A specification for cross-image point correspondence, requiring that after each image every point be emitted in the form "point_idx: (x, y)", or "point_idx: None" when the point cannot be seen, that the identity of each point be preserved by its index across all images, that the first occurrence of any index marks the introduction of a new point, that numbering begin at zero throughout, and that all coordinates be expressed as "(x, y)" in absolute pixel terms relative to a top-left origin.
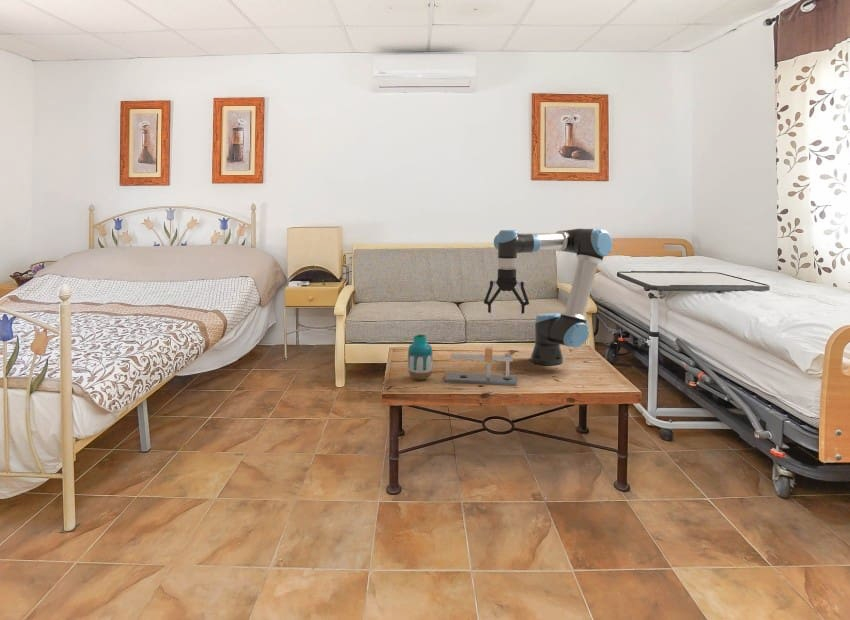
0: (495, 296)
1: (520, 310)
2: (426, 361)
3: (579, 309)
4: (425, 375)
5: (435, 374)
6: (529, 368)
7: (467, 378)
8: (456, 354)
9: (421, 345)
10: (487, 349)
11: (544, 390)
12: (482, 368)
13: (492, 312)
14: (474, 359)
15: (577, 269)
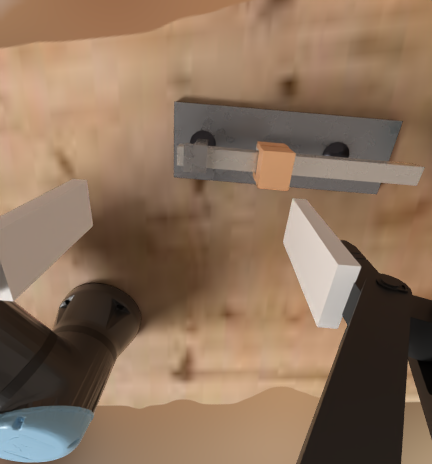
0: (354, 377)
1: (18, 212)
2: None
3: None
4: None
5: (409, 194)
6: (142, 259)
7: (327, 135)
8: (400, 169)
9: None
10: (284, 152)
11: (90, 54)
12: (265, 253)
13: (313, 226)
14: (323, 156)
15: None
